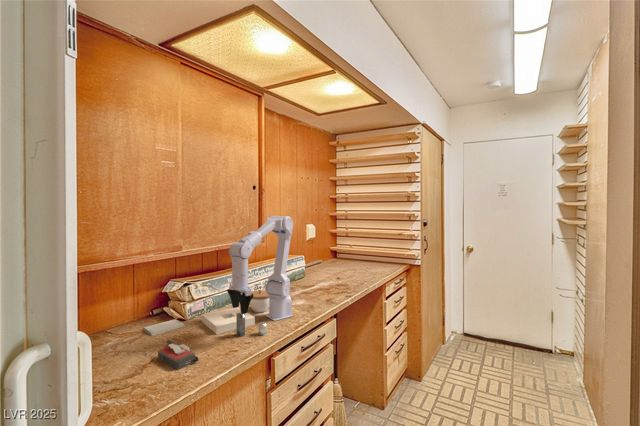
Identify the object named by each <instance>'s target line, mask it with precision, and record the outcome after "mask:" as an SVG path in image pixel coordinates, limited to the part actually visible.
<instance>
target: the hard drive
mask: <svg viewBox="0 0 640 426" xmlns="http://www.w3.org/2000/svg"><path fill="white" fill-rule="evenodd" d="M183 327H185V324H184V323H183V322H182V321H180V320H177V319H175V318H173V319H171V320H167V321H163V322H160V323H156V324H151V325H148V326H144V327H143V328H142V330H143V332H145V333H147V334H148V335H149V336H151V337H153V336H157V335H161V334H163V333H164V334H165V333H166V332H170V331H174V330H177V329H181V328H183Z"/></svg>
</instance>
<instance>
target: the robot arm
mask: <svg viewBox="0 0 640 426" xmlns="http://www.w3.org/2000/svg"><path fill="white" fill-rule="evenodd" d="M293 228H294V221H293V219H292V218H291V216H289V215H286V216H285V215H284V216H283V215H282V216H281V215H270V216H269V217H267V218H266V221H265V222H264V223H263V224H262V225H261V226H260V227H259V228H258V229H257V230H256V231H255V230H252V231H248V232H247V234H246V235H245V236H244V237H243V238H240V240H239V241H235V242H233V243H232V244H231V245H230V247H229V249H228V254H229V256H230V260H231V264H232V265H231V266H232V267H231V273H232V274H231V281H229V286H228V289H227V290H226V292H227V293H228V296H229V298H230V302H231V306H232V307H231V308H237V307H239V308H241V313H242V314H244V313H249V312H248V311H249V307H250V305H249V304H250V302H251V300H252V298H253V294H252V293H251V292H252V289H251V288H250V287H249V286H250V285H249V258H250V257H251V255H252V252H253V250H255V248H256V247H257V246H258V245H260V244H261V243H262V241H263V239H262V238H263V237H266V235H268V234H270V233H271V232H273V234H274V235H276V236H277V238H278V240H277V246H276V253H275V254H276V255H275V260H274V266H273V267H274V268H273V273H272V274H270V275H269V276H268V277H267V282H266V284H265V287H264V289H265V290H264V291H266V293H267V294H268V296H269V308H268V309H269V310H268V313H266V314H265V317H267V318H268V319H270V320H272V321H274V322H275V321H276V322H277V321H281V320H283V319H288V318H291V317H293V316H294V315H293V311H292V307H293V304H292V303H293V300H292V298H291V296H290V292H291V284H290V283H291V280H290V278H289V277H288V275H287V274H286V273H287V265H288V259H289V253H290V245H291V238H292V236H293V230H294V229H293Z"/></svg>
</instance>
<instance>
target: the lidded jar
mask: <svg viewBox="0 0 640 426" xmlns="http://www.w3.org/2000/svg"><path fill="white" fill-rule="evenodd" d="M251 293H252V294H253V298H252V300H251V302H250V304H249V307H250V309H251V310H252V311H253V312H254V313H265V312H267V310H268V309H269V296H268V294H267V293H266V290H262V289H259V290H253V291H251Z"/></svg>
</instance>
